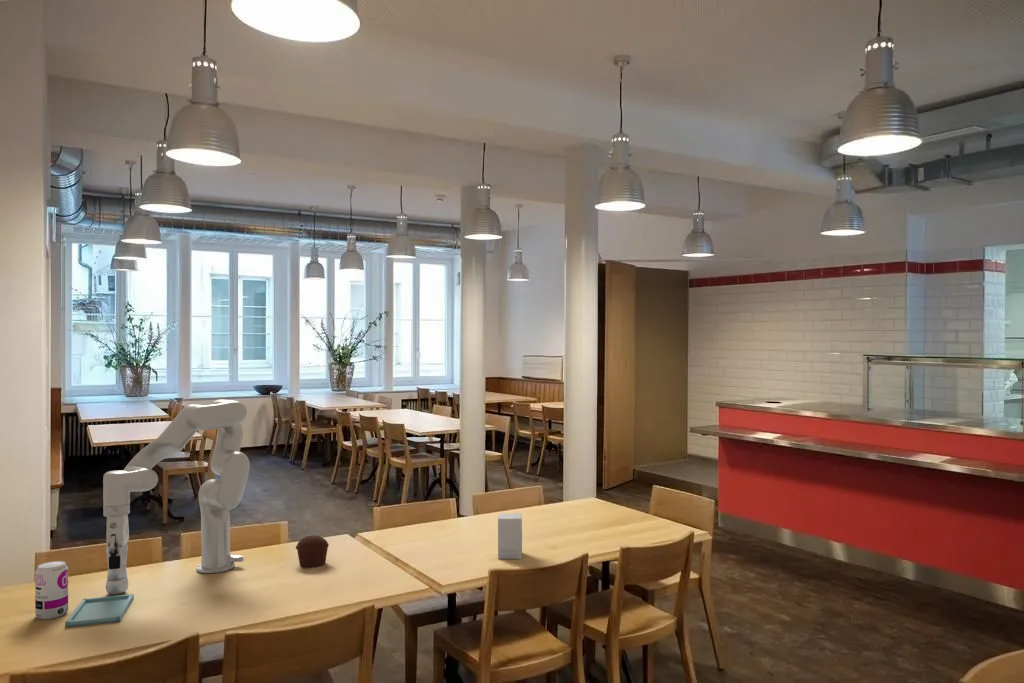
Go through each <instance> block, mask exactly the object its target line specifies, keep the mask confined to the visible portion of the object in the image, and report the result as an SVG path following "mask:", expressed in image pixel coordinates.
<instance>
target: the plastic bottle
mask: <svg viewBox="0 0 1024 683" xmlns="http://www.w3.org/2000/svg"><path fill="white" fill-rule="evenodd" d="M109 544H110V543H109ZM115 546H118V544H117V545H115ZM109 547H110V546H109ZM115 549H116V550H117V548H115ZM128 550H129V546H128V542H127V543H126V544H125V545H124V546H123V547H121V546H120V551H119V556H120V568H119V569H109V548H108V547H107V546H106V547H105V554H106V560H107V578H106V583H105V591H106V593H107V594H108V595H110V596H116V595H122V594H123V593H126V592H127V590H128V588H129V578H128V574H127V573H128V572H127V559H128V558H127V556H128Z"/></svg>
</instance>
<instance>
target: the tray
mask: <svg viewBox="0 0 1024 683" xmlns="http://www.w3.org/2000/svg"><path fill="white" fill-rule="evenodd" d="M134 597H135V594H134V593H128V594H116V595H109V596H107V595H106V596H99V597H87V598H83V599H82V600H81V602H80V603H79V604H78V605H77V606H76V608H75V609H74V610H73V612H72V613H71V614H70V615H69V617H68V618H67V620H65V622H64V628H65V629H67V628H75V627H86V626H92V625H103V624H113V623H120V622H121V621H122V619H124V616H125V615H126V612H128V611H127V610H129V607H130V606H131V604H132V602H133V601H134V599H135V598H134Z"/></svg>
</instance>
